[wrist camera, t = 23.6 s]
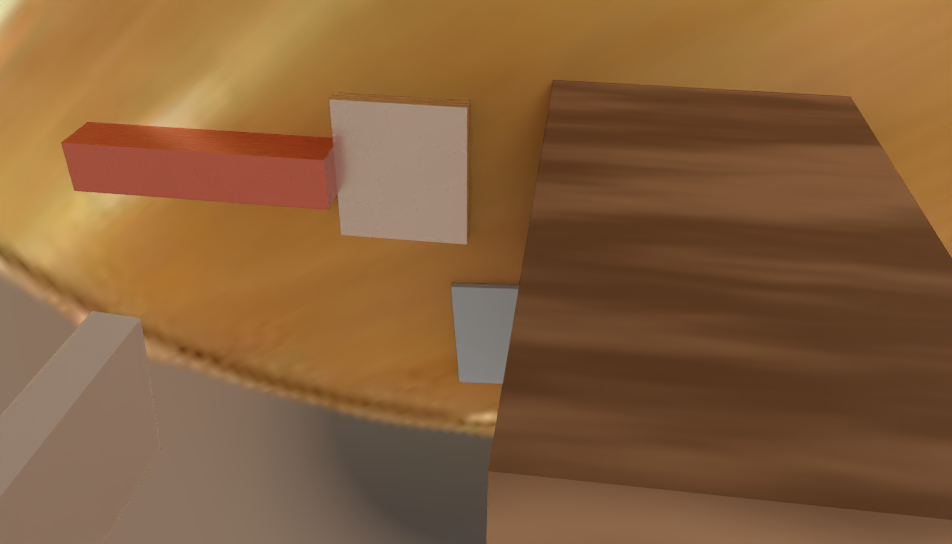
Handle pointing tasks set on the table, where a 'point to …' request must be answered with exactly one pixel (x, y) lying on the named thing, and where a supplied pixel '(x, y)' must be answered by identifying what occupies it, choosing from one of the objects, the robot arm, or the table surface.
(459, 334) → the tile
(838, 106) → the stand
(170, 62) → the table surface
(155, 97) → the table surface
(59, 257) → the table surface
